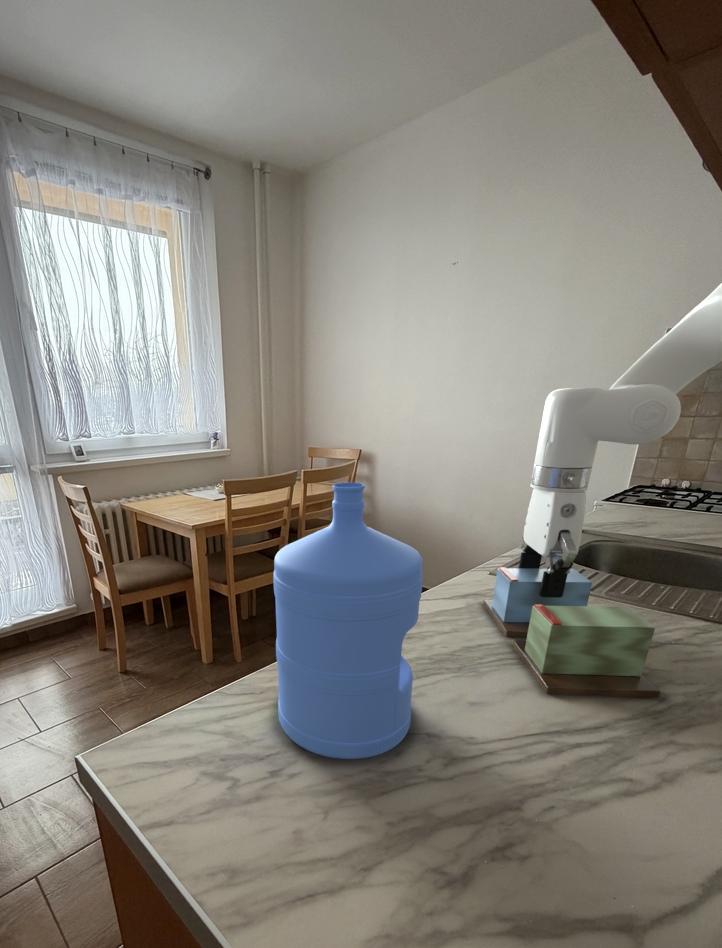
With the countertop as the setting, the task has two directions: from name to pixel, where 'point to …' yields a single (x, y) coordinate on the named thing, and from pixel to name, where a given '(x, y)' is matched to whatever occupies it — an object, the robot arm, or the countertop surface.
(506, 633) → the dark brown base plate
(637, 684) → the brown wooden board
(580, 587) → the far tissue box
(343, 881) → the countertop surface
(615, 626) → the near tissue box
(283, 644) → the water jug
